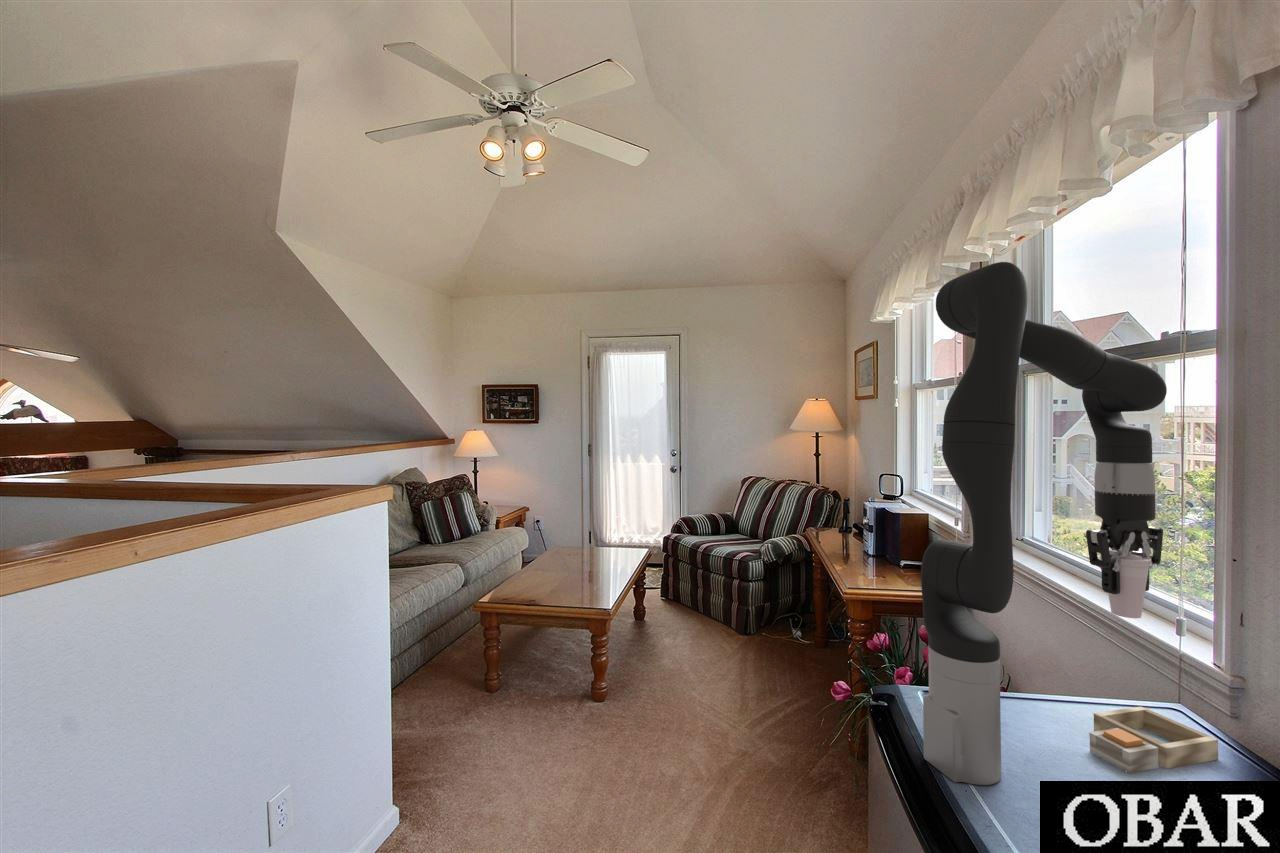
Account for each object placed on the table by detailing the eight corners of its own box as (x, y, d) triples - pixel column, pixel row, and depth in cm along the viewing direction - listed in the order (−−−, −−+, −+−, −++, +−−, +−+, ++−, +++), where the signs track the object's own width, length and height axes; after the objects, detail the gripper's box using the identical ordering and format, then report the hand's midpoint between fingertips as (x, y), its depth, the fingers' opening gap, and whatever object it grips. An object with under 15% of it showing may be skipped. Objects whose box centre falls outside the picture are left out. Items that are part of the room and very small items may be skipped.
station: (1132, 775, 79) (1132, 754, 79) (1062, 736, 89) (1062, 718, 89) (1218, 759, 83) (1218, 739, 83) (1141, 724, 93) (1141, 706, 93)
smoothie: (1163, 622, 86) (1162, 534, 86) (1117, 619, 87) (1116, 532, 87) (1134, 609, 92) (1133, 527, 93) (1091, 607, 94) (1090, 526, 94)
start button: (1126, 758, 81) (1126, 742, 81) (1103, 746, 84) (1103, 731, 84) (1143, 755, 81) (1142, 739, 82) (1119, 744, 85) (1119, 728, 85)
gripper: (1116, 493, 85) (1118, 601, 84) (1182, 490, 88) (1184, 594, 88) (1067, 488, 92) (1069, 588, 92) (1130, 486, 95) (1132, 582, 95)
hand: (1125, 591), depth 90 cm, fingers closed on smoothie, 5 cm apart
